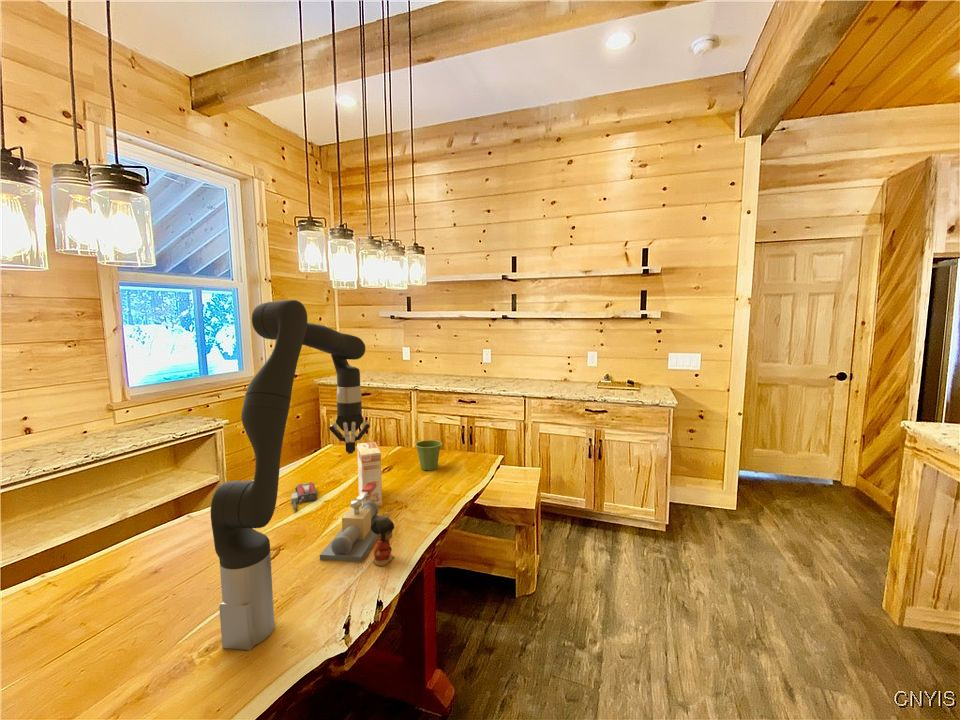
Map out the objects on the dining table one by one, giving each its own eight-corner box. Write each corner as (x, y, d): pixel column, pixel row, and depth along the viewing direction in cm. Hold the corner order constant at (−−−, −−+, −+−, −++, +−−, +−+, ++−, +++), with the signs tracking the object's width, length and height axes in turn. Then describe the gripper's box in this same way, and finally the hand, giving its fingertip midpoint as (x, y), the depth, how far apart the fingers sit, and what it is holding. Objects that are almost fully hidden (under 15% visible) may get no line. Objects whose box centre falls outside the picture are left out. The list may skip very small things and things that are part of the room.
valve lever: (359, 509, 124) (359, 503, 123) (349, 508, 124) (348, 502, 124) (377, 487, 139) (376, 482, 139) (367, 487, 139) (367, 482, 139)
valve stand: (361, 562, 114) (360, 527, 113) (319, 559, 115) (318, 525, 114) (388, 519, 138) (388, 490, 137) (354, 518, 139) (353, 489, 138)
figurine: (371, 568, 111) (370, 525, 110) (371, 557, 116) (370, 516, 115) (395, 564, 113) (394, 522, 111) (394, 553, 118) (393, 513, 117)
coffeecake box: (382, 505, 148) (381, 452, 146) (362, 509, 145) (360, 455, 143) (377, 489, 162) (375, 441, 160) (358, 492, 159) (356, 443, 157)
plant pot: (447, 466, 187) (447, 442, 186) (431, 475, 177) (430, 449, 176) (427, 461, 193) (426, 438, 192) (410, 469, 183) (409, 444, 182)
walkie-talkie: (290, 492, 160) (292, 514, 143) (289, 481, 160) (291, 501, 142) (314, 488, 164) (319, 508, 147) (314, 477, 164) (318, 496, 146)
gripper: (325, 403, 127) (327, 458, 128) (370, 401, 130) (371, 455, 131) (328, 398, 134) (330, 451, 135) (370, 397, 137) (372, 448, 138)
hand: (350, 453), depth 133 cm, fingers closed
